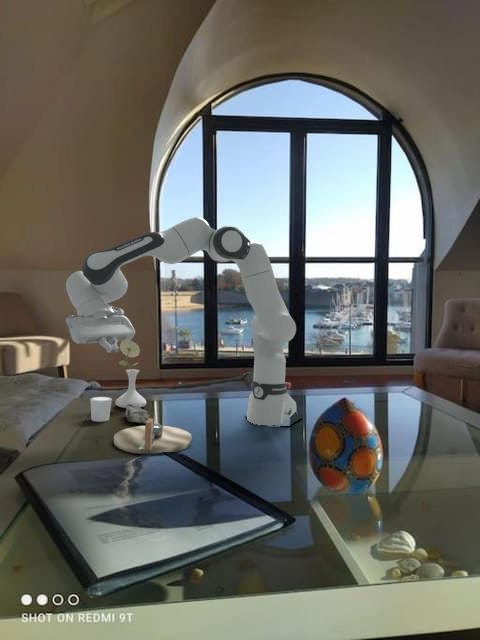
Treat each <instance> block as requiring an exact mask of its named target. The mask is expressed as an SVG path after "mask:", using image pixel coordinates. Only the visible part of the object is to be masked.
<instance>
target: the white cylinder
mask: <svg viewBox="0 0 480 640" xmlns="http://www.w3.org/2000/svg"><path fill="white" fill-rule="evenodd" d="M112 400H113V399H112V398H111V397H109V396H94V397H91V398H90V416H91V418H90V419H91V421H93V422H99V423H100V422H101V423H103V422H107V421H109V420H110V416H111V415H110V414H111V407H112Z"/></svg>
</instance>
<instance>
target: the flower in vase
mask: <svg viewBox="0 0 480 640" xmlns="http://www.w3.org/2000/svg"><path fill="white" fill-rule="evenodd" d="M118 348H119V350H120V352H122V355H124V356H126V360H123V359H122V360H120V361H119V362H118V365H120V366H123V367H126V366H128V368H129V369H126V370H125V372H126V374H127V376H128V389H127V390H126V392H124V393H123V394H122V395H120V396H119V397H118V398H117V399H115V402H114V404H115V405H116V406H117V407H119V408H123V409H127V408H126V405H128V404H131V405H134V406H139V407H140V408H142V407H144V406H146V405H147V400H146V398H144V397H143V396H142V395H141V394H140V393H139V392H137V390H136V379H137V375H138V373H139V372H140V369H132V367H134V366H137V365H138V364H139V363H140V361H138V362H136V363H133V364H132V365H131V366H130V364H129V362H128V358H136V357H138V356H140V352H141V348H140V347H139V344H138V343H137V342H134V340H130V341H120V344H119V346H118Z"/></svg>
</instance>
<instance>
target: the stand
mask: <svg viewBox="0 0 480 640" xmlns="http://www.w3.org/2000/svg"><path fill="white" fill-rule="evenodd" d="M145 426H146V425H138V426H132V427H128V428H125V429H122V430H119V431H118V432H116V433H115V434H114V436H113V444H114V446H115V447H116V448H117V449H120V450H122V451H124V452H128V453H132V454H139V455H149V454H148V453H155V452H173V453H177V452H181V451H184V450H185V449H188V448H189V447H190V446H191V445H192V440H193V438H192V434H191V432H189V431H187V430H184V429H182V428H179V427H174V426H169V425H162V426H163V433H162V436H160V437H155V439H154V442H153V444H152V446H151V448H150V449H145Z"/></svg>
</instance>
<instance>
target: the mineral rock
mask: <svg viewBox="0 0 480 640" xmlns="http://www.w3.org/2000/svg"><path fill="white" fill-rule="evenodd" d="M125 409H126V410H125V417H126V419H127V421H128V422H129V423H138V424H146V421H147V420H148V418H149V419H152V415H151V414H150V412H149V411H147V410H145V409H143V408H142V407H139V406H134V405H131V404H128V405H126V408H125Z"/></svg>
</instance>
